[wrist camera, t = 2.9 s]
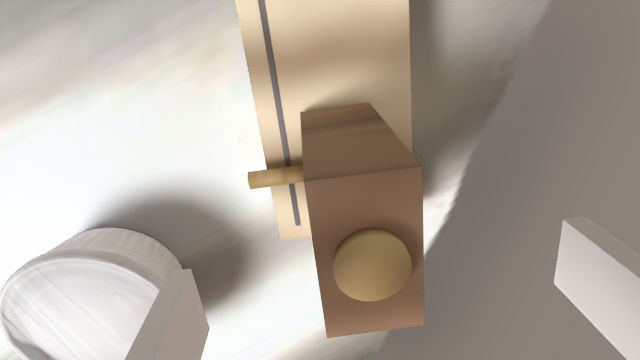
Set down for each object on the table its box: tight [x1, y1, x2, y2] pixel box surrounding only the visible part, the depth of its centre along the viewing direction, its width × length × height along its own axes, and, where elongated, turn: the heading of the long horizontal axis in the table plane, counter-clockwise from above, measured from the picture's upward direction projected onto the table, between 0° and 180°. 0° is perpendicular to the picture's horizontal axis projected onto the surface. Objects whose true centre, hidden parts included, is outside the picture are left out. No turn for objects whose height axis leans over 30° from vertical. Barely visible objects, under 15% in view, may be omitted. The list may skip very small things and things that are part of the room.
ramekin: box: [0, 227, 183, 360], centre depth 27 cm, size 11×11×5 cm
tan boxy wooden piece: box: [248, 103, 425, 338], centre depth 19 cm, size 7×8×11 cm
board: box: [235, 0, 413, 241], centre depth 22 cm, size 24×9×3 cm, turn 7°
